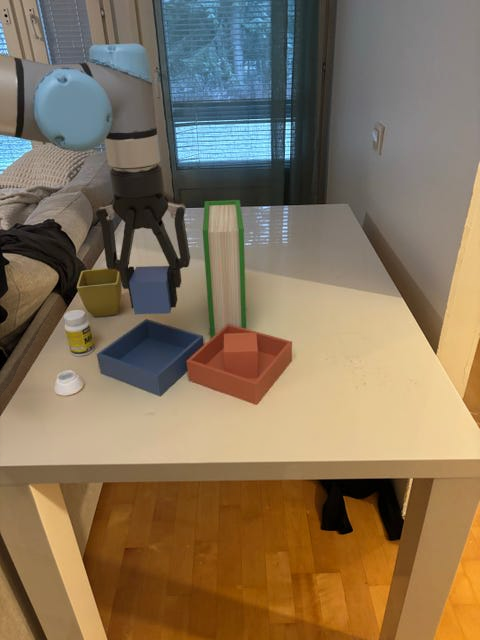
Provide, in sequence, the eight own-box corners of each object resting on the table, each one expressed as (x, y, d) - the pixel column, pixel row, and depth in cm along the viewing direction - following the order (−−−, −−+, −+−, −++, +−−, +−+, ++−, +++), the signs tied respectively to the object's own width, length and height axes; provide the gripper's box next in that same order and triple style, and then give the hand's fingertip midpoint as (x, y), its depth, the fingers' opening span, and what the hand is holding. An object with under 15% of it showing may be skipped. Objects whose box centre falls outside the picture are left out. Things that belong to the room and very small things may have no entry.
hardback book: (246, 339, 96) (243, 228, 84) (210, 341, 96) (202, 230, 84) (242, 299, 111) (239, 199, 99) (211, 300, 111) (204, 201, 99)
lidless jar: (84, 393, 83) (83, 377, 87) (81, 380, 81) (80, 364, 85) (55, 400, 82) (55, 383, 86) (51, 386, 80) (51, 370, 84)
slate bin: (100, 373, 88) (96, 354, 86) (148, 336, 98) (146, 318, 96) (160, 396, 82) (157, 376, 79) (204, 354, 92) (203, 335, 90)
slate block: (134, 314, 78) (128, 282, 75) (141, 297, 83) (136, 266, 80) (170, 313, 78) (166, 281, 74) (174, 296, 83) (171, 265, 80)
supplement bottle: (91, 356, 93) (82, 320, 88) (67, 357, 93) (57, 321, 88) (97, 343, 97) (89, 308, 92) (75, 343, 97) (66, 308, 93)
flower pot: (84, 323, 104) (75, 287, 99) (89, 304, 111) (81, 270, 107) (124, 319, 105) (117, 283, 100) (126, 300, 112) (120, 266, 108)
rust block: (225, 379, 84) (223, 352, 81) (225, 359, 90) (223, 333, 87) (258, 377, 84) (257, 350, 81) (256, 358, 90) (256, 332, 87)
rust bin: (188, 380, 85) (186, 360, 83) (228, 342, 96) (227, 323, 93) (256, 405, 79) (256, 384, 77) (291, 361, 89) (292, 341, 87)
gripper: (201, 158, 71) (211, 292, 83) (78, 162, 72) (105, 295, 83) (197, 170, 65) (208, 313, 77) (62, 174, 65) (94, 316, 77)
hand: (154, 303), depth 80 cm, fingers closed on slate block, 6 cm apart
